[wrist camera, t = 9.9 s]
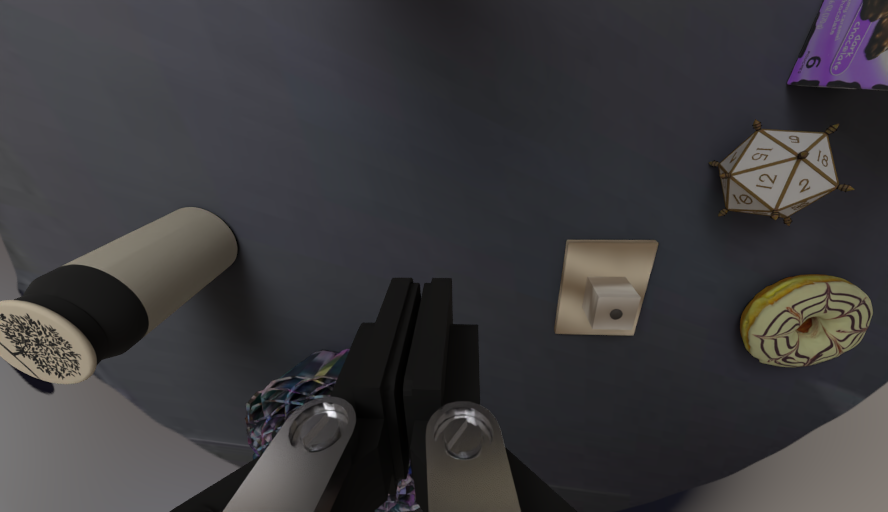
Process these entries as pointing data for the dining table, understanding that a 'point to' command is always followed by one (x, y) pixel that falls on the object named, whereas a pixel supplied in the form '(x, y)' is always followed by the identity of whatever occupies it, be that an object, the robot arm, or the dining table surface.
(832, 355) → the decorated donut
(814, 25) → the candy box
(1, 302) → the travel mug
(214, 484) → the robot arm
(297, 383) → the decorative bowl
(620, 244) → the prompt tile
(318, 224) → the dining table surface
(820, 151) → the game die
